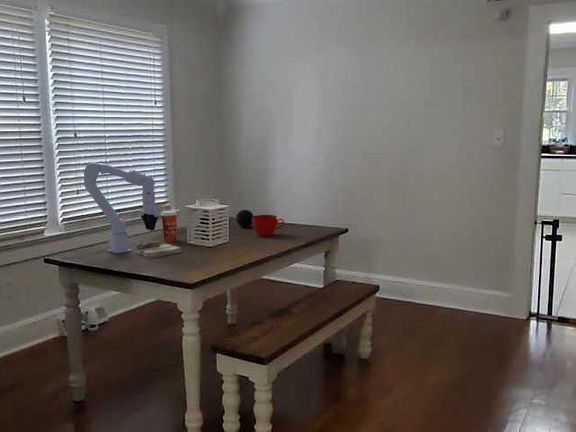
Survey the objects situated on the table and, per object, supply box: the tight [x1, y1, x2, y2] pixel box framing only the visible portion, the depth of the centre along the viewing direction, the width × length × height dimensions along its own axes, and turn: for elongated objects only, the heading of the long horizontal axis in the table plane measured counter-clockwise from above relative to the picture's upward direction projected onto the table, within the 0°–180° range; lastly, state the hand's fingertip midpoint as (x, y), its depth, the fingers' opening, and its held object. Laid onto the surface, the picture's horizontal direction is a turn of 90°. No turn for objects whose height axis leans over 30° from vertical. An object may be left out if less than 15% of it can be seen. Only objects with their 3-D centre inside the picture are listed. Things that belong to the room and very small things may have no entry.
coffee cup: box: [160, 210, 178, 243], centre depth 305 cm, size 8×8×15 cm
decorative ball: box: [235, 209, 254, 228], centre depth 340 cm, size 10×10×10 cm
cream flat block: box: [134, 243, 182, 259], centre depth 279 cm, size 14×16×2 cm
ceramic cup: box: [252, 214, 285, 237], centre depth 315 cm, size 13×17×10 cm
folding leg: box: [135, 240, 161, 249], centre depth 281 cm, size 11×2×3 cm, turn 133°
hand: (150, 230), depth 285 cm, fingers open, 3 cm apart
